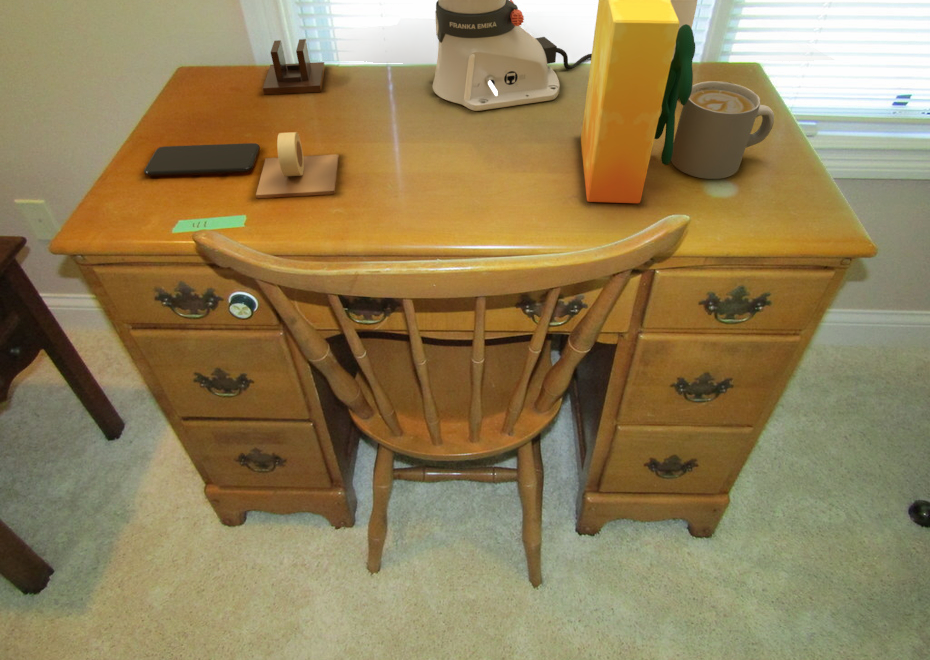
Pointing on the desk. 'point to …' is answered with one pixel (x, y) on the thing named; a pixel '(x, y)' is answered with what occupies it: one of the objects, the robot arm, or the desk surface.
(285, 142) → the tape roll
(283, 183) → the cork pad
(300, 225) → the desk surface
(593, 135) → the mottled yellow carton
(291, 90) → the stand
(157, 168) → the smartphone
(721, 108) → the coffee mug
